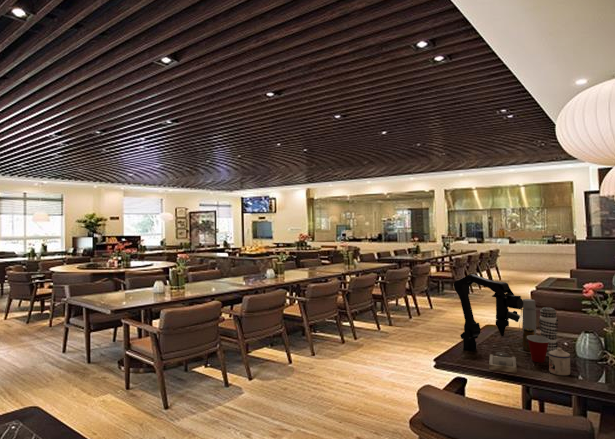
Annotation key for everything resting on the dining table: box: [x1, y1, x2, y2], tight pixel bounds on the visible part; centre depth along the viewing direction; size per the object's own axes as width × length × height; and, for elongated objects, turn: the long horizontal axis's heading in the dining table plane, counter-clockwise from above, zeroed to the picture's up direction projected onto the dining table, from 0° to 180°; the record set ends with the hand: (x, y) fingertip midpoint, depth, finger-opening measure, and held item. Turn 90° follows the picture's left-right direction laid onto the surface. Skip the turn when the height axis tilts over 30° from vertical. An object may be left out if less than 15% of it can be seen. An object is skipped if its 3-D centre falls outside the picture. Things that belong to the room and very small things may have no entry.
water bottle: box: [518, 298, 537, 335], centre depth 261 cm, size 9×8×25 cm
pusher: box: [493, 355, 513, 367], centre depth 213 cm, size 8×3×5 cm, turn 66°
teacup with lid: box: [548, 347, 571, 376], centre depth 205 cm, size 12×9×12 cm
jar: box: [495, 351, 510, 358], centre depth 217 cm, size 6×6×6 cm
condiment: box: [518, 328, 534, 354], centre depth 242 cm, size 7×8×12 cm
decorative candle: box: [538, 306, 559, 357], centre depth 235 cm, size 9×9×25 cm
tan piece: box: [488, 353, 518, 374], centre depth 217 cm, size 12×18×2 cm
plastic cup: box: [527, 334, 550, 364], centre depth 224 cm, size 11×11×12 cm
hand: (502, 336), depth 228 cm, fingers closed
